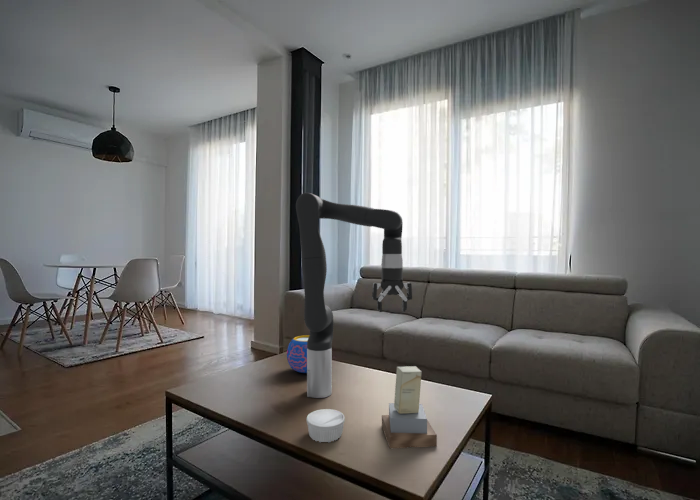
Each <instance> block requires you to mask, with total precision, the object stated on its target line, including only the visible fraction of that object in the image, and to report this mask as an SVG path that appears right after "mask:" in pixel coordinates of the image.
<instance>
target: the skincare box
mask: <svg viewBox="0 0 700 500" xmlns="http://www.w3.org/2000/svg"><path fill="white" fill-rule="evenodd" d="M422 374H423V373H422V370H420V368H418V367H417V366H416V365H413V366H412V365H411V366H409V365H408V366H407V365H406V366H405V365H404V366H396V376H395V385H394V387H395V388H394V389H395V390H394V399H393V400H394V401H393V403H394V408H395V409H396V410H397V412H398V413H399V414H404V413H418V412H419V404H420V400H421V399H420V398H421V384H422V383H421V382H422Z"/></svg>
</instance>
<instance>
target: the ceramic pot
mask: <svg viewBox="0 0 700 500" xmlns="http://www.w3.org/2000/svg"><path fill="white" fill-rule="evenodd" d="M309 335H310V334H308V335H307V334H305V335H298V336H295V337H293V338H292V339H291V340H290V342H289V343H288V346H287V351H286V359H287V362H288V365H289V367H290V368H291V369H292V370H293V371H295V372H297V373H301V374H307V341H308V338H309Z"/></svg>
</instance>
